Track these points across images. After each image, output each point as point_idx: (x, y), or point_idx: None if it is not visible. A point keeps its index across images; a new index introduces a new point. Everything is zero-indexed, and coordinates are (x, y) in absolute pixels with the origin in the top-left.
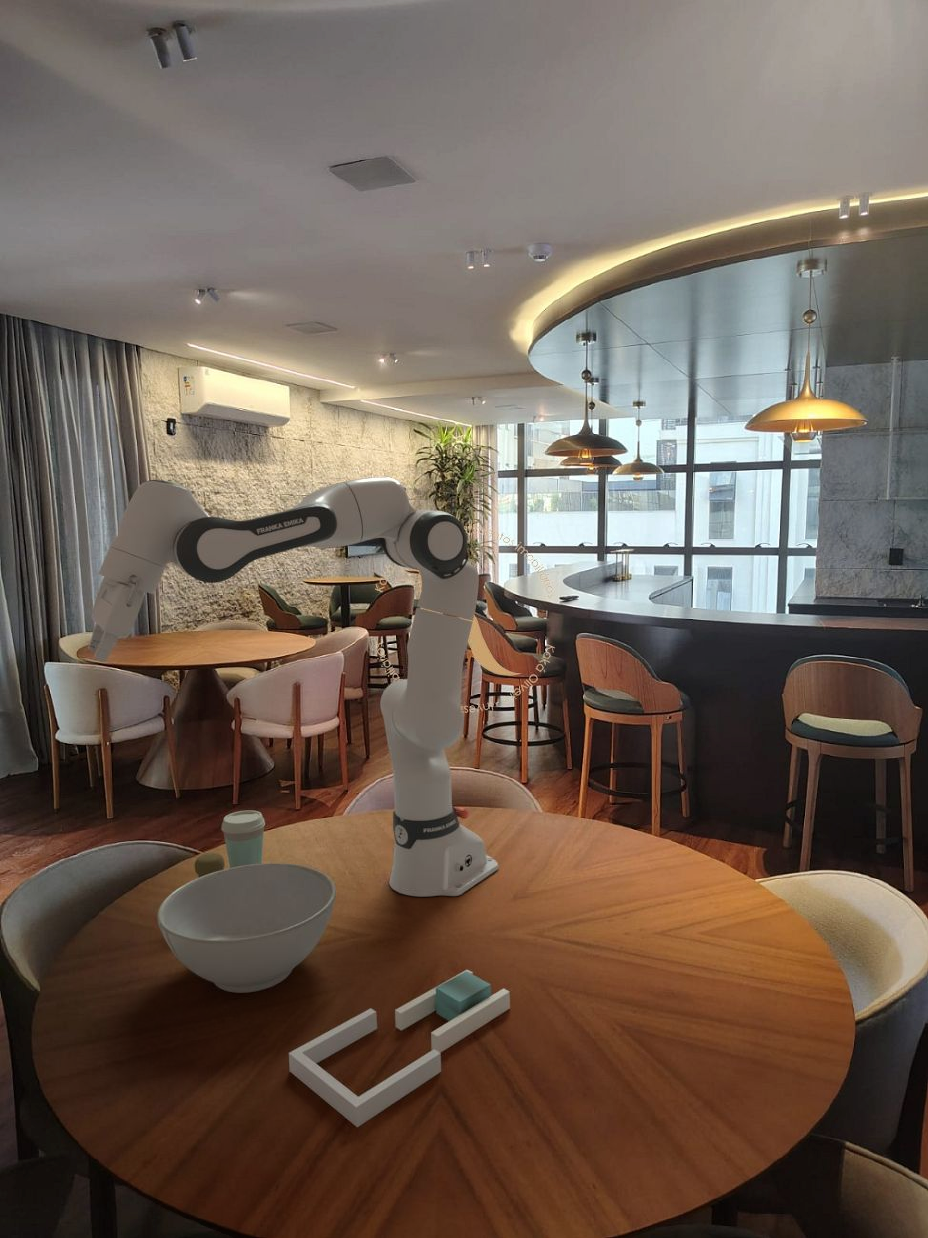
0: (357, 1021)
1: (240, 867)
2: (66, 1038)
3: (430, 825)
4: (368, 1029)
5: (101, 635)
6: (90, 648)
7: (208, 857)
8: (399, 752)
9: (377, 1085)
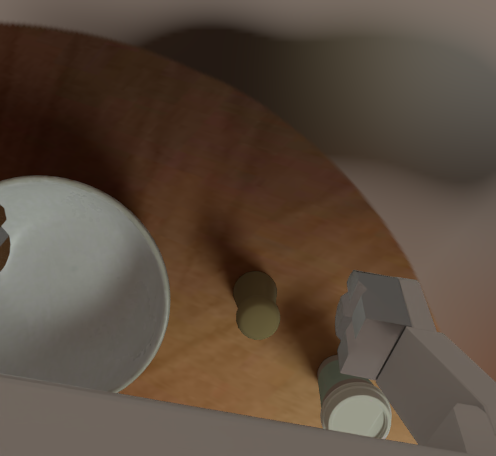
0: None
1: (159, 334)
2: (85, 60)
3: None
4: None
5: (424, 415)
6: (355, 281)
7: (251, 319)
8: None
9: None
